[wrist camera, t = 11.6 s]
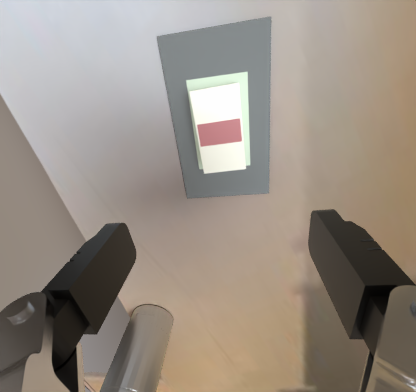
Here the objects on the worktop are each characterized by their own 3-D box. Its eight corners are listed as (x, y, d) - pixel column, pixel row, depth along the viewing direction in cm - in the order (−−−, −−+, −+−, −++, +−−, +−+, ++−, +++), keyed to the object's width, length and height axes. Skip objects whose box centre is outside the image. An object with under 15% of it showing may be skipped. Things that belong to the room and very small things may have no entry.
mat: (268, 192, 31) (269, 193, 31) (187, 197, 33) (187, 198, 32) (270, 17, 22) (271, 16, 21) (157, 37, 23) (156, 36, 23)
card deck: (237, 82, 24) (239, 82, 21) (244, 158, 28) (246, 169, 25) (195, 89, 25) (189, 91, 22) (207, 162, 29) (203, 174, 26)
